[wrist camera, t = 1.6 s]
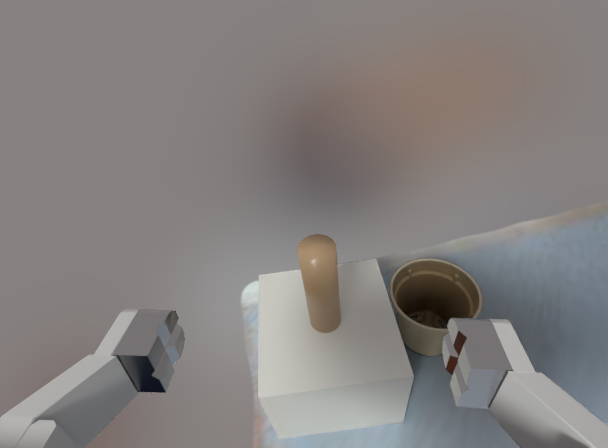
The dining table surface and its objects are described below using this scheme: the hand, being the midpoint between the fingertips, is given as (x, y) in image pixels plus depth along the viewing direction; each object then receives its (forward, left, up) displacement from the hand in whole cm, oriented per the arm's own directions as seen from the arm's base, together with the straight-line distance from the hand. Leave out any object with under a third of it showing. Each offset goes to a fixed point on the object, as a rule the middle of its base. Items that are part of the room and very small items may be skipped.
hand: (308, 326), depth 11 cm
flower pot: (-13, -16, -32) cm, 38 cm away
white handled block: (-1, -13, -32) cm, 34 cm away
